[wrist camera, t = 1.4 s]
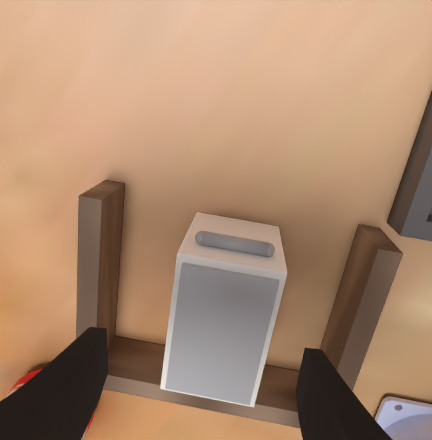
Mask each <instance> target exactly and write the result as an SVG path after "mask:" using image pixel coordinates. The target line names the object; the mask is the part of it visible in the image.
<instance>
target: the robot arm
mask: <svg viewBox="0 0 432 440" xmlns="http://www.w3.org/2000/svg"><path fill="white" fill-rule="evenodd" d="M107 374H108V351H107V328H97V327H89V328H88V329H86V330H85V331H84V332H83V333H82V334H81V335H80V336H79V337H78V338H77V339H76V340H75V341H74V342H72V343H71V344H70V345H69V346H68V347H67V348H66V349H65V350H64V351H63V352H62V353H60V354H59V355H58V356H57V357H56V358H55V359H54V360H52V361H51V362H50V363H49V364H48V365H47V366H46V367H44V368H43V369H42V370H41V371H40V372H38V373H37V374H36V375H35V376H33V377H32V378H31V379H30V380H28V381H27V382H26V383H25V384H23V385H22V386H21V387H20V388H18V389H17V390H16V391H14V392H13V393H11V394H10V395H9V396H7V397H6V398H5V399H3V400H2V401H0V440H81V439H82V437H83V435H84V432H85V430H86V428H87V426H88V424H89V422H90V419H91V417H92V415H93V413H94V410H95V408H96V406H97V404H98V401H99V399H100V396H101V393H102V390H103V387H104V384H105V381H106V377H107ZM295 391H296V401H297V410H298V418H299V423H300V428H301V433H302V437H303V440H432V404H427V403H422V402H417V401H411V400H406V399H401V398H396V397H385V398H384V399H383V400H382V402H381V404H380V407H379V409H378V412H377V414H376V416H375V419H374V418H373V417H372V416H371V415H370V413H369V412H368V411H367V410H366V408H365V407H364V406H363V405H362V404H361V402H360V401H359V400H358V398H357V397H356V396H355V394H354V393H353V392H352V391H351V389H350V388H349V387H348V385H347V384H346V382H345V381H344V380H343V378H342V377H341V376H340V374H339V373H338V371H337V370H336V369H335V367H334V366H333V364H332V363H331V361H330V360H329V358H328V357H327V356H326V354H325V353H324V352H323V350H321V349H311V348H305V350H304V355H303V359H302V363H301V368H300V372H299V377H298V381H297V385H296V390H295ZM396 405H398V406H396Z"/></svg>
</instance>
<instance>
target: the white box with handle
mask: <svg viewBox="0 0 432 440" xmlns="http://www.w3.org/2000/svg"><path fill="white" fill-rule="evenodd" d="M286 277H287V268H286V262H285V257H284V252H283V247H282V241H281V236H280V231H279V226H273V225H268V224H262V223H257V222H251V221H245V220H240V219H234V218H228V217H223V216H217V215H211V214H206V213H200V212H196V214H195V217H194V219H193V221H192V223H191V225H190V227H189V229H188V231H187V233H186V236H185V238H184V240H183V242H182V244H181V246H180V248H179V250H178V252H177V259H176V267H175V275H174V283H173V291H172V298H171V306H170V314H169V322H168V330H167V338H166V346H165V354H164V362H163V370H162V378H161V386H160V389H163V390H168V391H173V392H178V393H183V394H188V395H193V396H198V397H203V398H209V399H214V400H219V401H224V402H229V403H234V404H239V405H244V406H249V407H254V405H255V401H256V397H257V393H258V389H259V385H260V381H261V377H262V373H263V369H264V365H265V361H266V357H267V353H268V349H269V345H270V341H271V337H272V333H273V329H274V325H275V321H276V317H277V313H278V309H279V305H280V301H281V297H282V293H283V289H284V285H285V281H286Z"/></svg>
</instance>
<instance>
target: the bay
mask: <svg viewBox="0 0 432 440" xmlns="http://www.w3.org/2000/svg"><path fill="white" fill-rule="evenodd" d="M124 189H125V183H119V182H113V181H108V180H105V181H103V182H101V183H100V184H98V185H96V186H95V187H93V188H91V189H90V190H88V191H86V192H85V193H83V194H81V195H80V196H79V212H78V265H77V318H76V339H77V338H78V337H79V336H80V335H81V334H82V333H83V332H84V331H85V330H86V329H88V328H89V327H97V328H107V351H108V374H107V377H106V381H105V384H104V387H103V389H105V390H110V391H115V392H120V393H125V394H130V395H135V396H140V397H145V398H150V399H155V400H161V401H166V402H171V403H176V404H181V405H186V406H191V407H196V408H201V409H206V410H211V411H216V412H221V413H226V414H231V415H236V416H241V417H246V418H251V419H256V420H261V421H266V422H271V423H276V424H281V425H286V426H291V427H296V428H300V423H299V418H298V410H297V401H296V391H295V390H296V385H297V381H298V377H299V371H294V370H289V369H284V368H279V367H273V366H268V365H264V369H263V373H262V377H261V381H260V385H259V389H258V393H257V397H256V401H255V405H254V407H249V406H244V405H239V404H234V403H229V402H224V401H219V400H214V399H209V398H203V397H198V396H193V395H188V394H183V393H178V392H173V391H168V390H163V389H160V386H161V378H162V370H163V362H164V354H165V346H164V345H159V344H154V343H149V342H143V341H138V340H133V339H128V338H123V337H118V336H115V328H116V313H117V298H118V282H119V267H120V251H121V236H122V220H123V205H124ZM402 255H403V253H402V252H401V251H400V250H399V248H398V247H397V246H396V245H395V244H394V243H393V242H392V241H391V240H390V239H389V238H388V237H387V236H386V234H385V233H384V232H383V231H382V230H381V229H380V228H376V227H371V226H365V225H359V226H358V229H357V232H356V235H355V239H354V242H353V245H352V248H351V251H350V255H349V258H348V261H347V264H346V267H345V271H344V274H343V277H342V280H341V283H340V287H339V290H338V293H337V296H336V299H335V303H334V306H333V309H332V312H331V315H330V319H329V322H328V325H327V328H326V331H325V335H324V338H323V341H322V344H321V347H320V349H321V350H323V352H324V353H325V354H326V356H327V357H328V358H329V360H330V361H331V363H332V364H333V366H334V367H335V369H336V370H337V371H338V373H339V374H340V376H341V377H342V378H343V380H344V381H345V382H346V384H347V385H348V387H349V388H350V389H351V391H352V390H353V388H354V385H355V382H356V380H357V377H358V374H359V371H360V369H361V366H362V363H363V361H364V358H365V355H366V352H367V350H368V347H369V344H370V342H371V339H372V336H373V334H374V331H375V328H376V325H377V323H378V320H379V317H380V315H381V312H382V309H383V306H384V304H385V301H386V298H387V296H388V293H389V290H390V288H391V285H392V282H393V279H394V277H395V274H396V271H397V269H398V266H399V263H400V260H401V258H402Z"/></svg>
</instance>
